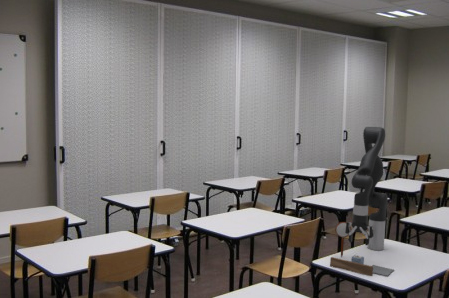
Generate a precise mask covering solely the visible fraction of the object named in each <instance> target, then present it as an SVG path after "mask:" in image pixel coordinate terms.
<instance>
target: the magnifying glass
mask: <svg viewBox="0 0 449 298" xmlns="http://www.w3.org/2000/svg"><path fill="white" fill-rule="evenodd" d="M346 223H347V222H346V221H340V222H338V223H337V224H336V226H335V229H334V231H335V233H336V235H337V236H338V237H340V238H341V241H340V243H341V245H340V257H341V258H343V256H344V244H345V243H344V242H345V241H344V240H345V238H346V237H349V234H347V233H345V231H346ZM351 230H352V226H350V230H349V231H351Z"/></svg>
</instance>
